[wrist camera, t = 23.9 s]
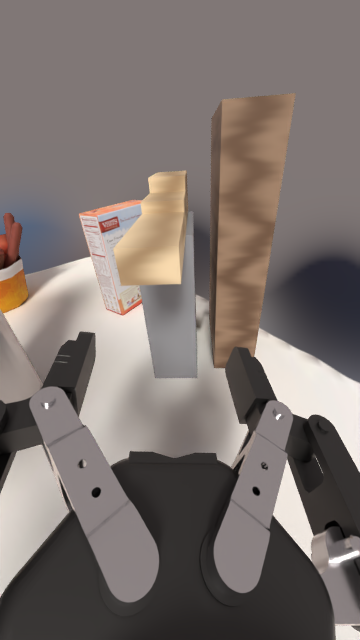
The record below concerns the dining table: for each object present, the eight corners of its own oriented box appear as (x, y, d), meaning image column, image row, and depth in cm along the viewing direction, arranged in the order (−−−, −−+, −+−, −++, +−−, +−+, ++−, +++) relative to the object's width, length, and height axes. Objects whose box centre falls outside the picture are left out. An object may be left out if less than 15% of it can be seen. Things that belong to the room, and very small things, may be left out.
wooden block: (214, 367, 39) (222, 99, 20) (209, 318, 50) (211, 118, 32) (252, 367, 38) (295, 93, 20) (238, 317, 50) (258, 114, 31)
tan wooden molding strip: (121, 285, 16) (103, 203, 13) (161, 212, 36) (157, 172, 33) (181, 283, 16) (175, 199, 13) (188, 210, 35) (186, 170, 33)
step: (155, 377, 38) (131, 238, 25) (163, 330, 47) (148, 213, 35) (197, 377, 37) (193, 235, 25) (196, 330, 47) (193, 211, 35)
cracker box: (144, 285, 65) (131, 198, 53) (162, 290, 62) (152, 199, 50) (104, 309, 56) (76, 211, 44) (122, 316, 53) (98, 214, 41)
